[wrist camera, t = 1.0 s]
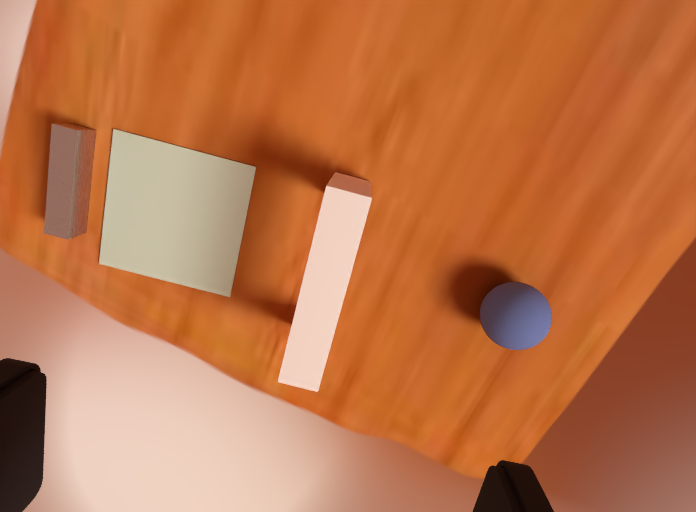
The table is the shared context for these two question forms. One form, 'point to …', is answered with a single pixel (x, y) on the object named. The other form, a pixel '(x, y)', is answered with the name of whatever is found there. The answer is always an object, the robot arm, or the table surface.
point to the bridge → (325, 280)
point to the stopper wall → (69, 180)
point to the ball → (515, 315)
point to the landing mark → (174, 213)
